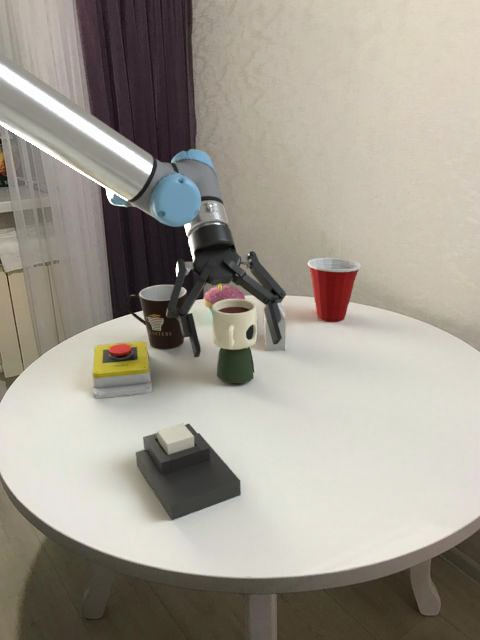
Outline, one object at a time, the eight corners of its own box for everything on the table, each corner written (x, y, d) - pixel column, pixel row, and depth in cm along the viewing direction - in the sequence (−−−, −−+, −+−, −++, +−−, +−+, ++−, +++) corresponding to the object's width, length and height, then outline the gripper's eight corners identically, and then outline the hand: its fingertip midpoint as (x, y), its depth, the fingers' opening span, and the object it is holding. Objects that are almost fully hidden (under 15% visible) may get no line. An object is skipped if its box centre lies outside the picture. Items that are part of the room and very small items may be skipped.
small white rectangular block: (157, 441, 76) (156, 430, 75) (183, 434, 77) (182, 422, 77) (168, 456, 73) (167, 444, 72) (194, 447, 75) (194, 436, 74)
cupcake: (230, 330, 117) (229, 272, 112) (195, 322, 121) (192, 266, 116) (252, 316, 124) (252, 261, 119) (219, 309, 127) (217, 255, 122)
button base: (136, 465, 77) (133, 439, 76) (199, 445, 81) (197, 420, 80) (171, 520, 68) (169, 493, 66) (240, 495, 72) (240, 468, 70)
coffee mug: (198, 341, 112) (196, 292, 108) (162, 356, 107) (158, 304, 102) (161, 325, 120) (157, 278, 115) (125, 337, 114) (120, 289, 110)
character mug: (252, 395, 94) (252, 320, 88) (208, 393, 94) (205, 318, 89) (260, 364, 103) (260, 295, 98) (220, 362, 104) (218, 293, 99)
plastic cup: (363, 312, 126) (367, 257, 121) (349, 330, 117) (353, 272, 112) (315, 304, 130) (317, 251, 125) (298, 321, 121) (299, 265, 116)
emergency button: (146, 331, 106) (150, 368, 93) (148, 352, 108) (152, 392, 95) (93, 335, 104) (89, 374, 91) (96, 357, 106) (93, 398, 93)
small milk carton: (283, 335, 115) (283, 286, 111) (285, 350, 109) (286, 299, 105) (264, 335, 115) (264, 286, 111) (265, 350, 109) (265, 299, 104)
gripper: (137, 228, 94) (164, 351, 88) (282, 215, 102) (316, 327, 96) (135, 252, 101) (159, 367, 95) (271, 238, 109) (302, 344, 102)
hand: (238, 347), depth 95 cm, fingers open, 13 cm apart
